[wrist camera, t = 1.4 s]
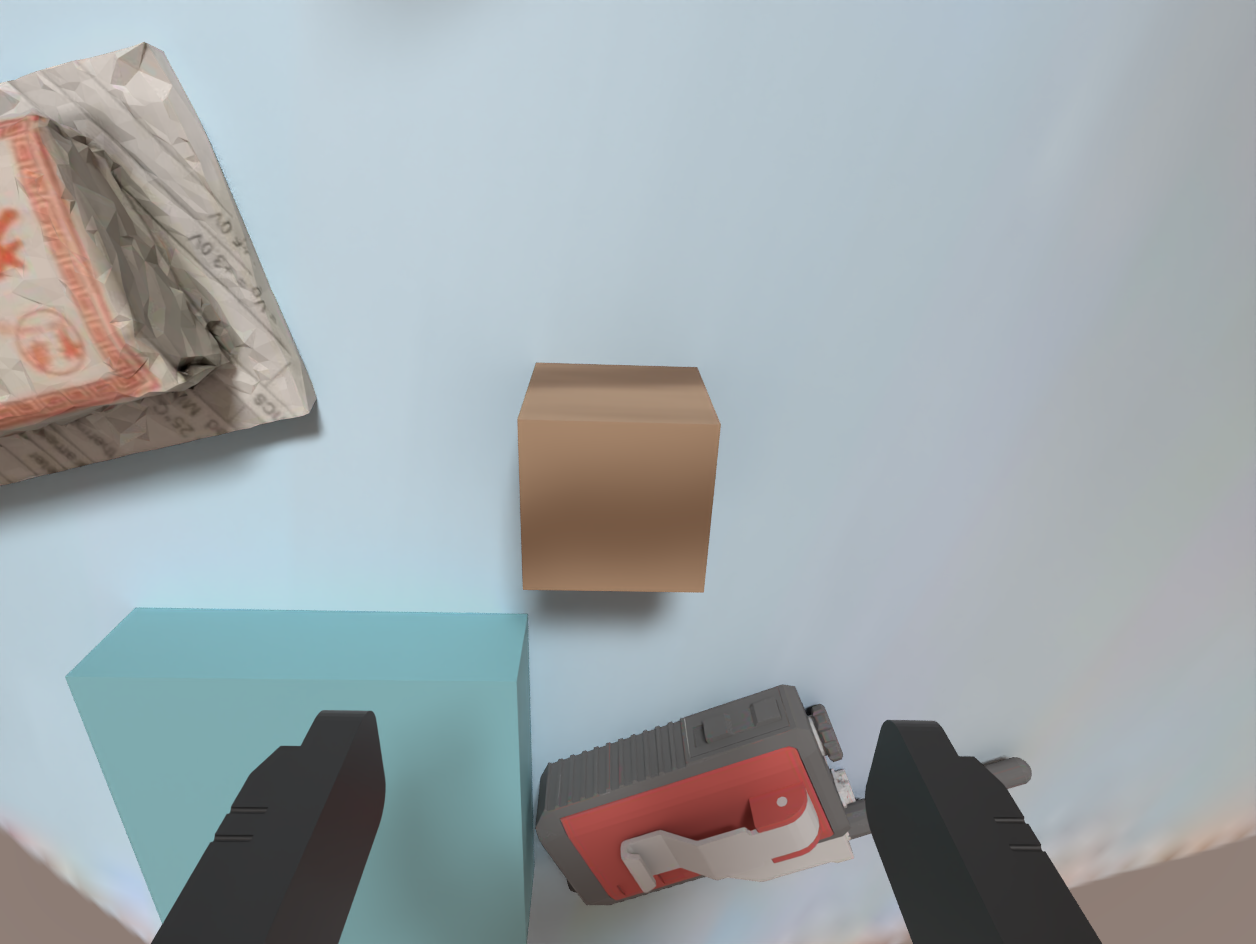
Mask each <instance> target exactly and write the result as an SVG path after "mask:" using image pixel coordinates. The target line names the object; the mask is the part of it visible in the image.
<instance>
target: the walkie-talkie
mask: <svg viewBox="0 0 1256 944" xmlns="http://www.w3.org/2000/svg"><path fill="white" fill-rule="evenodd" d="M811 714H812V715H810V716H808V715H807V714H806V711H805V709H804V707H803V704H802V702H801V700H800V697H799V695H798V693H797V690H796V688H795V686H789V685H783V684H782V685H779V686H776V687H773V688H771V689H768V690H765V691H762V692H759V693H756V694H753V695H750V696H747V697H744V698H741V699H738V700H735V701H732V702H729V703H726V704H723V705H720V706H717V707H714V708H711V709H708V710H705V711H702V712H699V713H696V714H693V715H690V716H687V717H684V718H681V719H680V721H678V722H675V723H672V722H669V723H668V725H666V726H663V727H660V726H657V727H655V729H654V730H651V731H647V730H645V731H643V733H642V734H639V735H635V734H633V735H631V737H630V738H627V739H622V738H621V739H618V742H615V743H612V744H611V743H610V742H609V743H606V746H603V747H600V748H599V747H598V746H597V747H594V750H591V751H588V752H587V751H586V750H585V751H583V752H582V754H579V755H576V756H575V755H571V756H570V758H567V759H564V760H563V759H559V760H558V762H555V763H548V765H547V767H546V769H545V770H544V772H543V774H542V776H541V780H540V790H539V799H538V809H537V818H536V828H535V829H536V832H537V835H538V838H539V840H540V842H541V843H542V845H543V846H544V848H545V849H546V851H547V852H548V853H549V855H550V856H551V857H552V859H553V860H554V862H555V863H556V864H557V866H558V867H559V869H560V870H561V871H562V873H563V874H564V875H565V877H566V878H567V882H568V886H569V889H570V890H571V891H573V892H576V893H578V895H579V896H580V898H581V899H582V900H583V902H584V903H585V904H586V905H612V904H614V903H617V902H622V901H624V900H627V899H632V898H636V897H638V896H641V895H646V894H648V893H651V892H654V891H659V890H661V889H665V888H670V887H672V886H675V885H678V884H683V883H685V882H688V881H693V880H696V879H698V878H702V877H709V878H712V879H715V880H721V879H724V878H727V877H729V878H736V879H744V880H751V881H758V882H764V881H767V880H771V879H774V878H778V877H781V876H784V875H788V874H791V873H794V872H798V871H801V870H805V869H808V868H812V867H815V866H819V865H822V864H826V863H829V862H835V863H839V862H843V861H846V860H850V859H853V858H854V855H853V852H852V849H851V846H850V843H849V840H851V839H855V838H858V837H861V836H864V835H867V834H871V831H870V828H869V824H868V820H867V814H866V806H865V800H864V799H861V800H857V801H856V800H855V797H854V794H853V792H852V789H851V786H850V783H849V780H848V778H847V775H846V773H845V770H844V769H842V770H839V771H834V769H831V771H830V769H829V767H828V764H827V761H826V758H825V756H826V755H828V757H829V759H830V760H832V761H833V762H835V761H838V760H841V759H842V757H843V753H842V750H841V748H840V745H839V743H838V740H837V737H836V735H835V732H834V730H833V727H832V725H831V722H830V719H829V717H828V714H827V712H826V709H825V707H824V706H823V705H821V704H818V705H815V706H812V709H811ZM985 767H986V768H987V769H988V770H989V771H990V772H991V773H992V774H993V775H994V776H995V777H996V778H998V779H999V780H1000V781H1001V782H1002V783H1003V784H1004V785H1005V787H1006V788H1007V789H1009V788H1012V787H1015V786H1019V785H1022V784H1026V783H1027V782H1028V781H1029V780H1030V779H1031V775H1032V773H1031V768H1030V766H1029V765H1028V764H1027V763H1026V761H1024V760H1022V759H1020V758H1016V757H1012V758H1009V759H1006V760H1002V761H999V762H996V763H992V764H989V765H986V766H985Z"/></svg>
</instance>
